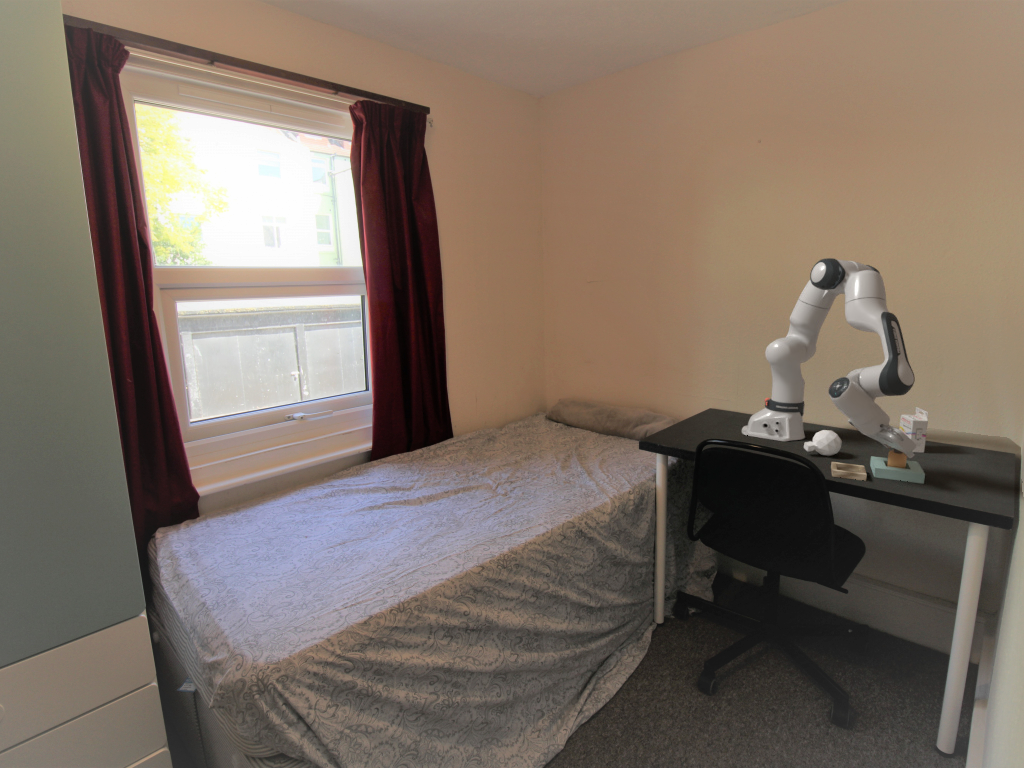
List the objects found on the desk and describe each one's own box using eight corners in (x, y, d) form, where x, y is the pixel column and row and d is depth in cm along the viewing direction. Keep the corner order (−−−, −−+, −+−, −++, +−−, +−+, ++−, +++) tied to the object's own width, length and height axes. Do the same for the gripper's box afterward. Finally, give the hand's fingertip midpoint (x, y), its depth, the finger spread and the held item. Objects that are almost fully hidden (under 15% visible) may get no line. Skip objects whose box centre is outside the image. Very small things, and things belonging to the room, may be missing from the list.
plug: (887, 475, 162) (891, 445, 160) (885, 470, 166) (888, 441, 164) (905, 477, 160) (909, 447, 158) (903, 472, 164) (906, 443, 162)
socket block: (874, 477, 160) (875, 467, 160) (870, 464, 171) (871, 456, 170) (923, 483, 155) (925, 474, 154) (916, 470, 165) (917, 461, 164)
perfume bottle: (828, 444, 187) (796, 449, 187) (833, 423, 183) (800, 428, 182) (845, 458, 180) (811, 464, 179) (850, 437, 175) (816, 442, 175)
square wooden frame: (832, 476, 162) (832, 470, 161) (830, 467, 169) (831, 461, 169) (866, 481, 157) (866, 474, 157) (863, 471, 165) (863, 465, 165)
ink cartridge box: (896, 445, 190) (900, 405, 188) (911, 445, 189) (916, 406, 187) (908, 452, 182) (913, 411, 179) (924, 453, 181) (930, 412, 178)
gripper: (903, 423, 149) (934, 455, 151) (859, 406, 169) (886, 435, 171) (885, 438, 150) (916, 470, 152) (844, 419, 170) (871, 448, 172)
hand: (900, 451), depth 161 cm, fingers open, 8 cm apart
